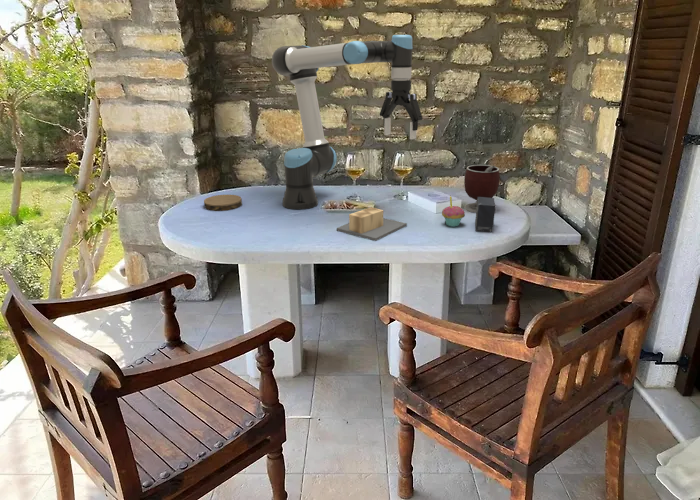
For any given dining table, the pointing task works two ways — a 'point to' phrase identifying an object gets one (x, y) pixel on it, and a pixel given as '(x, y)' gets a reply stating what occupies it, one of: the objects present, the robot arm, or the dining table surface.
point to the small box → (485, 214)
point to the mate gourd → (480, 183)
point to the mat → (376, 230)
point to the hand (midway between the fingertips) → (399, 137)
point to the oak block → (365, 220)
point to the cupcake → (453, 214)
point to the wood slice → (223, 202)
